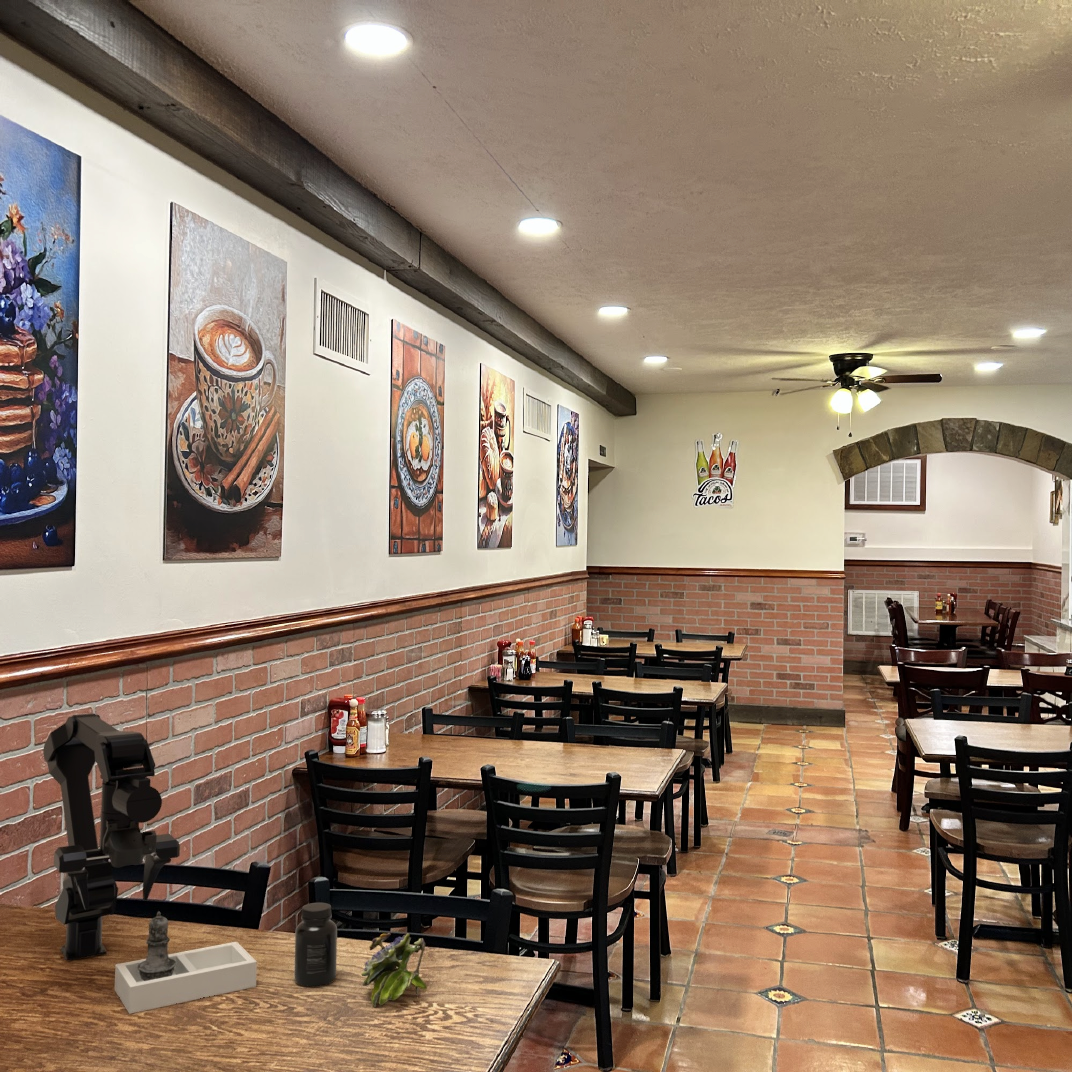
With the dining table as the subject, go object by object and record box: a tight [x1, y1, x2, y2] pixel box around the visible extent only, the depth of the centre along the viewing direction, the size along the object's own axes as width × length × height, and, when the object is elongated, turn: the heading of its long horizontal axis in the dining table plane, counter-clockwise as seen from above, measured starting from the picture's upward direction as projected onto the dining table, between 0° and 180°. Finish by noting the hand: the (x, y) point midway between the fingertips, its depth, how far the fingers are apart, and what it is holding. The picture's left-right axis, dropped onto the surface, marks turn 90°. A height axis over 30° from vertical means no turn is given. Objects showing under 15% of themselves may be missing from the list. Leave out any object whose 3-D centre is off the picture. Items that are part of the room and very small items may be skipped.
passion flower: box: [361, 932, 427, 1008], centre depth 164 cm, size 11×11×12 cm
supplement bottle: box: [294, 902, 338, 988], centre depth 169 cm, size 7×7×12 cm
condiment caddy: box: [114, 941, 258, 1015], centre depth 165 cm, size 10×20×4 cm, turn 124°
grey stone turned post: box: [137, 910, 177, 981], centre depth 162 cm, size 6×6×12 cm
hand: (116, 904), depth 169 cm, fingers open, 9 cm apart
